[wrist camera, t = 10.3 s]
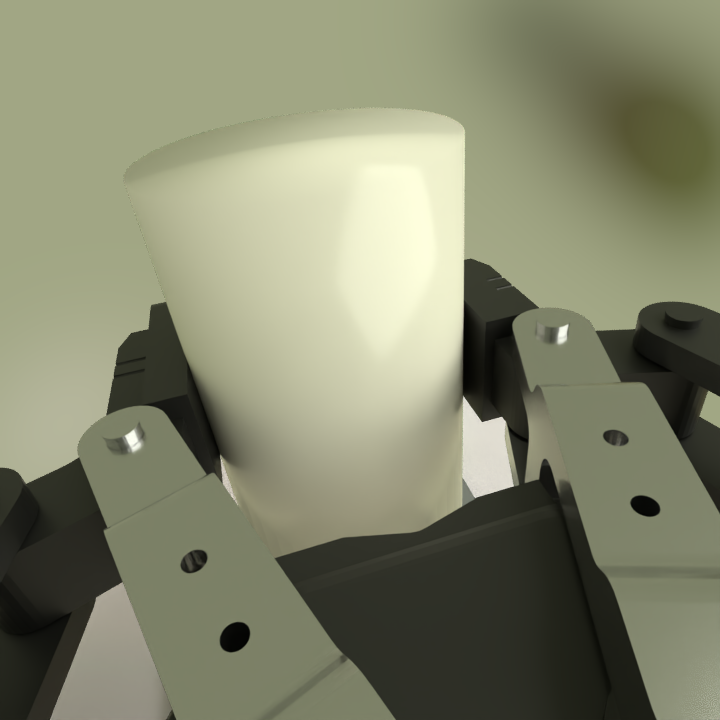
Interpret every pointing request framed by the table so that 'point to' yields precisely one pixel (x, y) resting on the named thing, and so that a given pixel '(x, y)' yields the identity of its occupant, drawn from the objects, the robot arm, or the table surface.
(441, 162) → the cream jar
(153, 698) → the table surface
